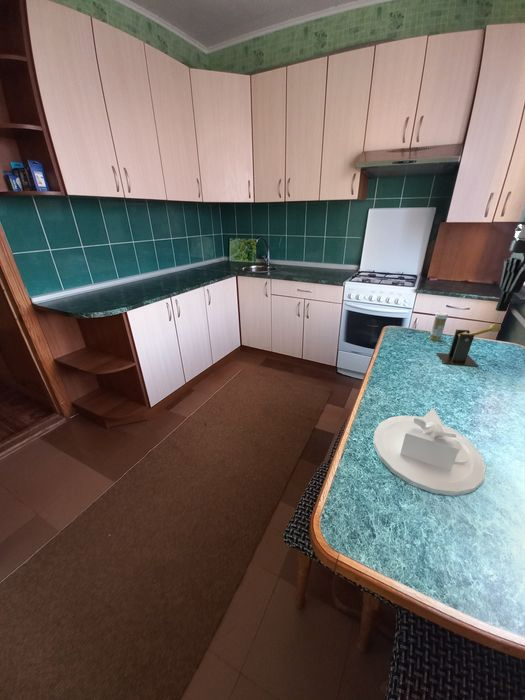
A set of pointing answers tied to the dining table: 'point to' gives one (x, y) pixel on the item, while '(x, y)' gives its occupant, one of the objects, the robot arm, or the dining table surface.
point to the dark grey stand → (459, 350)
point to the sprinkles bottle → (438, 326)
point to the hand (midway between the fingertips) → (500, 310)
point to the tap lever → (485, 330)
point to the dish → (429, 454)
